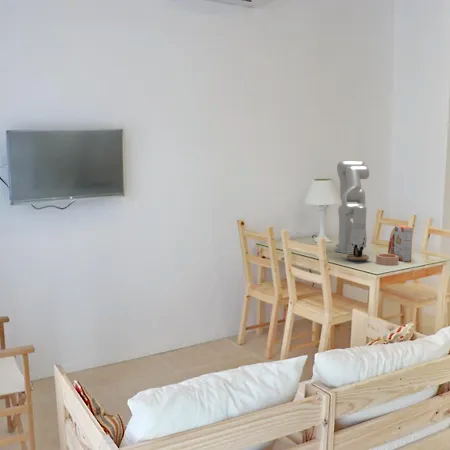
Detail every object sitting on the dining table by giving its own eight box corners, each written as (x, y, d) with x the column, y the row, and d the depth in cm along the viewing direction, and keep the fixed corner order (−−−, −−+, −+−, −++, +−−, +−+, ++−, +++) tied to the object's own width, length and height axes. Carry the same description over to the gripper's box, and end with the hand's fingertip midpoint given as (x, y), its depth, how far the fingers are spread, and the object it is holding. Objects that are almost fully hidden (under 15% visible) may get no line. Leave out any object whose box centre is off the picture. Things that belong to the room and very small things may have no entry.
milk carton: (403, 257, 344) (405, 226, 340) (388, 256, 346) (390, 225, 342) (402, 253, 353) (404, 223, 349) (387, 253, 355) (389, 223, 351)
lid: (342, 256, 333) (342, 246, 332) (358, 254, 339) (359, 245, 338) (356, 261, 322) (356, 251, 320) (373, 258, 327) (373, 249, 326)
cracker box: (393, 257, 344) (394, 224, 341) (402, 257, 344) (403, 224, 341) (401, 261, 330) (403, 227, 327) (411, 261, 330) (413, 227, 327)
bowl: (371, 262, 327) (372, 254, 326) (387, 261, 332) (387, 253, 332) (386, 267, 316) (386, 258, 315) (402, 265, 321) (402, 256, 321)
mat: (342, 260, 332) (342, 259, 332) (359, 258, 338) (359, 258, 338) (356, 265, 321) (356, 264, 321) (373, 263, 327) (373, 262, 326)
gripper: (345, 224, 332) (344, 253, 335) (363, 228, 318) (361, 259, 321) (355, 223, 335) (353, 252, 339) (373, 227, 321) (371, 258, 324)
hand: (357, 255), depth 330 cm, fingers closed on lid, 3 cm apart
